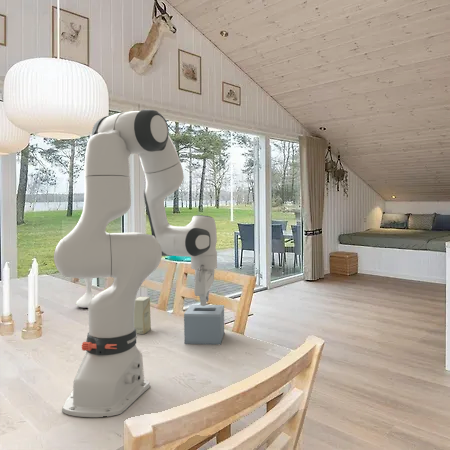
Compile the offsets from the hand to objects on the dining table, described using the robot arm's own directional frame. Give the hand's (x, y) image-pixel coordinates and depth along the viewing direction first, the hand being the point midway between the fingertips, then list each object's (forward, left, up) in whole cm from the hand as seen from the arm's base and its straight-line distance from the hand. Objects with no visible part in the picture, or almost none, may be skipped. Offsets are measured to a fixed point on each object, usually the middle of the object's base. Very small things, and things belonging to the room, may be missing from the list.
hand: (204, 303), depth 139 cm
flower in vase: (+39, +59, -12) cm, 72 cm away
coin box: (0, 0, -12) cm, 12 cm away
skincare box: (+6, +24, -12) cm, 28 cm away
